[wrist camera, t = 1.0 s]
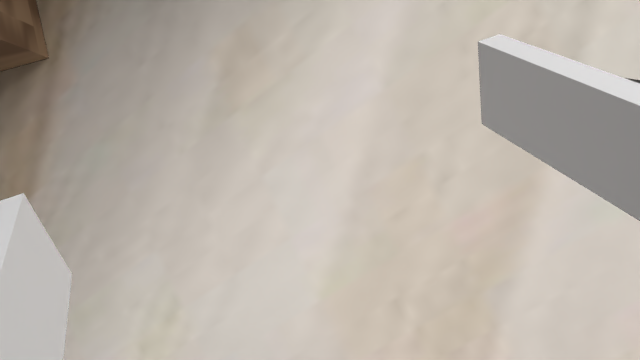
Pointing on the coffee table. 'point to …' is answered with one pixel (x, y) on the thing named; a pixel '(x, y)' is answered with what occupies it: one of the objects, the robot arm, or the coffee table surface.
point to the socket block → (20, 34)
